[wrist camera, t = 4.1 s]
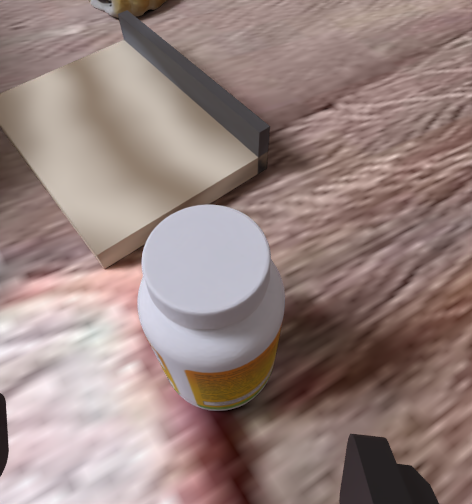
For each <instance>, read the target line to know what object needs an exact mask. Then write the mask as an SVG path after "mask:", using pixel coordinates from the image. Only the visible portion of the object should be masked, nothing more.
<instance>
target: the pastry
mask: <svg viewBox="0 0 472 504" xmlns="http://www.w3.org/2000/svg"><path fill="white" fill-rule="evenodd" d="M166 1H167V0H89V2H91V5H92V6H94V7H95V8H97V9H99V10H102V11H105V12H106V13H108V14H109V15H111V16H113V17H117V18H119V17H118V14H119V13H121V12H124V11H126V10H128V11H129V12H130V13H131V14H133V15H134V16H135V17H138V16H142V15H143V14H144V12H145V11H147V10H149V9H152V10H155V9H156V8H158V7H160V6H161V5H162V4H163V3H164V2H166Z"/></svg>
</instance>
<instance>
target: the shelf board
mask: <svg viewBox="0 0 472 504" xmlns="http://www.w3.org/2000/svg"><path fill="white" fill-rule="evenodd" d="M118 17H119V21H120V25H121V29H122V33H123V37H124V40H123V41H121V42H118V43H116V44H114V45H111V46H109V47H107V48H104V49H102V50H100V51H97V52H95V53H93V54H90V55H88V56H86V57H83V58H81V59H79V60H77V61H74V62H72V63H70V64H67V65H65V66H63V67H60V68H58V69H56V70H53V71H51V72H49V73H46V74H44V75H42V76H40V77H37V78H35V79H33V80H30V81H28V82H26V83H23V84H21V85H19V86H16V87H14V88H12V89H9V90H7V91H5V92H2V93H0V128H1V129H2V130H3V132H4V133H5V134H6V136H7V137H8V138H9V140H10V141H11V143H12V144H13V145H14V147H15V148H16V149H17V151H18V152H19V153H20V155H21V156H22V158H23V159H24V160H25V162H26V163H27V164H28V166H29V167H30V168H31V170H32V171H33V173H34V174H35V175H36V177H37V178H38V179H39V181H40V182H41V183H42V185H43V186H44V188H45V189H46V190H47V192H48V193H49V194H50V196H51V197H52V198H53V200H54V201H55V203H56V204H57V205H58V207H59V208H60V209H61V211H62V212H63V213H64V215H65V216H66V218H67V219H68V220H69V222H70V223H71V224H72V226H73V227H74V228H75V230H76V231H77V233H78V234H79V235H80V237H81V238H82V239H83V241H84V242H85V244H86V245H87V246H88V248H89V249H90V250H91V252H92V253H93V254H94V256H95V257H96V259H97V260H98V261H99V263H100V264H101V265H102V267H103V268H104V269H106V268H107V267H109V266H110V265H112V264H114V263H115V262H117V261H118V260H120V259H122V258H123V257H125V256H126V255H128V254H130V253H131V252H133V251H135V250H136V249H138V248H139V247H141V246H143V245H144V244H146V241H147V239H148V237H149V235H150V234H151V232H152V231H153V230H154V229H155V227H156V226H157V225H158V224H159V223H160V222H161V221H163V220H164V219H165V218H167V217H168V216H170V215H171V214H173V213H175V212H177V211H179V210H182V209H184V208H188V207H192V206H197V205H209V204H210V203H212V202H213V201H215V200H217V199H218V198H220V197H221V196H223V195H225V194H226V193H228V192H229V191H231V190H233V189H234V188H236V187H238V186H239V185H241V184H242V183H244V182H246V181H247V180H249V179H250V178H252V177H254V176H255V175H257V174H258V173H260V172H262V171H263V170H265V169H267V159H268V145H269V131H270V126H269V125H267V124H266V123H265V122H264V121H263V120H261V119H260V118H259V117H258V116H256V115H255V114H254V113H253V112H252V111H250V110H249V109H248V108H247V107H245V106H244V105H243V104H242V103H241V102H239V101H238V100H237V99H236V98H234V97H233V96H232V95H231V94H229V93H228V92H227V91H226V90H225V89H223V88H222V87H221V86H220V85H218V84H217V83H216V82H215V81H214V80H212V79H211V78H210V77H209V76H207V75H206V74H205V73H204V72H203V71H201V70H200V69H199V68H198V67H196V66H195V65H194V64H193V63H191V62H190V61H189V60H188V59H187V58H185V57H184V56H183V55H182V54H180V53H179V52H178V51H177V50H176V49H174V48H173V47H172V46H171V45H169V44H168V43H167V42H166V41H165V40H163V39H162V38H161V37H160V36H158V35H157V34H156V33H155V32H153V31H152V30H151V29H150V28H149V27H147V26H146V25H145V24H144V23H142V22H141V21H140V20H139V19H138V18H136V17H135V16H134V15H133V14H131V13H130V12H129V11H128V10H126V11H124V12H121V13H119V14H118Z"/></svg>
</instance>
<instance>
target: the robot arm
mask: <svg viewBox="0 0 472 504" xmlns="http://www.w3.org/2000/svg"><path fill="white" fill-rule="evenodd" d="M8 452H9V448H8V431H7V414H6V401H5V398H4V396H3V395H2V394H1V393H0V476H1V475H2V473H3V471H4V468H5V466H6V463H7V459H8ZM340 504H439V503H438V500H437V498H436V496H435V494H434V492H433V490H432V488H431V486H430V484H429V483H428V482H427V481H426V480H425V479H424V478H423V477H422V476H421V475H420V474H419V473H418V472H417V471H416V470H415V469H414V468H413V467H412V466H410V465H402V464H397V463H396V461H395V458H394V456H393V453H392V451H391V448H390V446H389V443H388V441H387V439H386V438H384V437H375V436H367V435H358V434H350V436H349V438H348V443H347V449H346V456H345V463H344V470H343V476H342V483H341V490H340Z"/></svg>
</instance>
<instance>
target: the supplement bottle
mask: <svg viewBox="0 0 472 504" xmlns="http://www.w3.org/2000/svg"><path fill="white" fill-rule="evenodd" d="M142 272H143V278H142V281H141V284H140V288H139V292H138V314H139V319H140V322H141V325H142V328H143V331H144V333H145V335H146V338H147V340H148V341H149V343H150V345H151V347H152V349H153V351H154V353H155V355H156V356H157V358H158V361H159V362H160V364H161V366H162V368H163V370H164V372H165V374H166V376H167V378H168V380H169V382H170V383H171V385H172V386H173V388H174V389H175V390H176V392H177V393H178V394H179V395H180V396H181V397H182V398H183V399H185V400H186V401H187V402H189V403H191V404H192V405H194V406H197V407H199V408H202V409H207V410H214V411H222V410H230V409H234V408H237V407H240V406H242V405H244V404H246V403H247V402H249V401H250V400H252V399H253V398H254V397H255V396H256V395H258V394H259V392H260V391H261V390H262V389H263V388H264V386H265V385H266V383H267V381H268V379H269V377H270V375H271V372H272V370H273V366H274V362H275V357H276V351H277V346H278V341H279V336H280V331H281V326H282V322H283V317H284V308H285V292H284V286H283V282H282V278H281V276H280V274H279V271H278V269H277V267H276V266H275V264H274V263H273V261H272V260H271V254H270V248H269V244H268V241H267V239H266V237H265V235H264V233H263V231H262V230H261V229H260V227H259V226H258V225H257V224H256V223H255V222H254V221H253V220H252V219H251V218H250V217H248V216H247V215H245V214H243V213H241V212H240V211H238V210H235V209H232V208H229V207H225V206H220V205H197V206H192V207H188V208H184V209H182V210H179V211H177V212H175V213H173V214H171V215H170V216H168V217H167V218H165V219H164V220H163V221H161V222H160V223H159V224H158V225H157V226H156V227H155V229H154V230H153V231H152V232H151V234H150V235H149V237H148V239H147V241H146V244H145V246H144V249H143V253H142Z"/></svg>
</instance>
